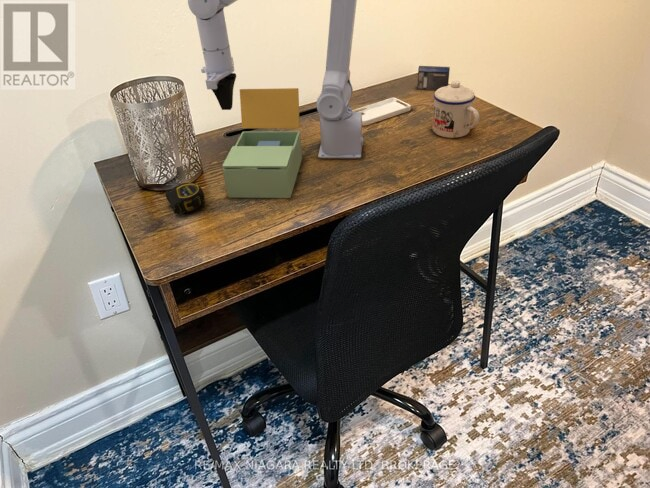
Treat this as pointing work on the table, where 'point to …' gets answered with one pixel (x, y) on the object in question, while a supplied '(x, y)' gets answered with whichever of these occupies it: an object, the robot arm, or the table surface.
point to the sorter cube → (269, 143)
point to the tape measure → (185, 197)
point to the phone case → (382, 110)
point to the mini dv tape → (432, 77)
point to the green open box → (263, 165)
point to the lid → (270, 108)
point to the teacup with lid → (454, 111)
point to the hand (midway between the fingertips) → (227, 108)
